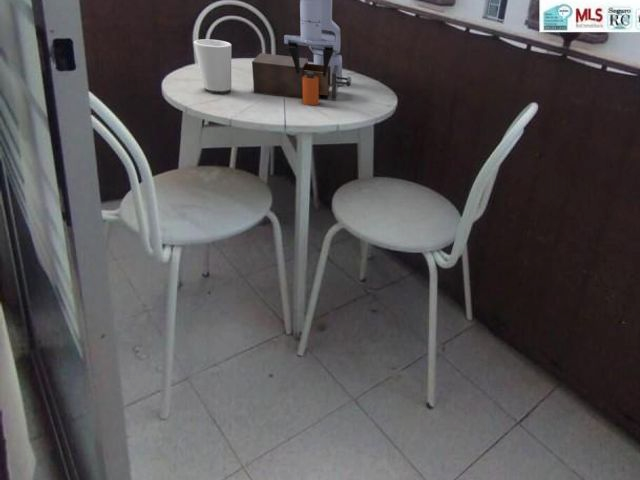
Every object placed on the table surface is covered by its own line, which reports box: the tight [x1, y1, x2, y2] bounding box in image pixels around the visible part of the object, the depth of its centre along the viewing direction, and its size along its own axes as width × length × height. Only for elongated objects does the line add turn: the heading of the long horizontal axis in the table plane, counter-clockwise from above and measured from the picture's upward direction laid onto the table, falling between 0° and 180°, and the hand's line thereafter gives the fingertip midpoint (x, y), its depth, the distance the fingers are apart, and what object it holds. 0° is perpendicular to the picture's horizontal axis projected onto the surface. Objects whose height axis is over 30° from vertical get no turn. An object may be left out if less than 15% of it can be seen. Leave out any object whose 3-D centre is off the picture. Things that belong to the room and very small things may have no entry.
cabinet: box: [251, 52, 309, 99], centre depth 156 cm, size 15×14×9 cm
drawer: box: [303, 62, 352, 99], centre depth 158 cm, size 18×12×7 cm
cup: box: [193, 38, 232, 95], centre depth 146 cm, size 10×10×13 cm
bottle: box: [302, 72, 320, 106], centre depth 148 cm, size 5×5×8 cm
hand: (311, 74), depth 146 cm, fingers open, 7 cm apart
